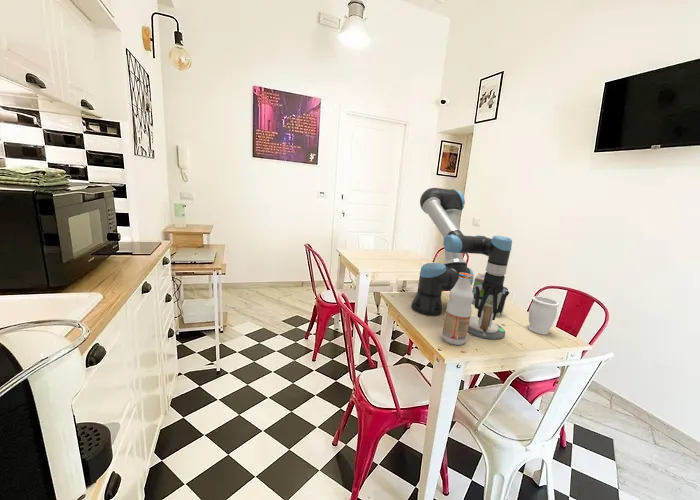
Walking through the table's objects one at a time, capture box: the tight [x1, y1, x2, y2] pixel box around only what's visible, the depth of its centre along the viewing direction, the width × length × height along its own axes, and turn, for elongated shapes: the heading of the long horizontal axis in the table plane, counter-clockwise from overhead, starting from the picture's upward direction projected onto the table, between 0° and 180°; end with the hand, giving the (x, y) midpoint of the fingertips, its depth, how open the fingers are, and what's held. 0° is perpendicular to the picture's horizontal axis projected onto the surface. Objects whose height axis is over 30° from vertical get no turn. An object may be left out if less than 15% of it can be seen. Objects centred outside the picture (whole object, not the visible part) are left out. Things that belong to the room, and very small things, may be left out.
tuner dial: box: [469, 305, 499, 333], centre depth 136 cm, size 16×14×11 cm
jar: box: [527, 295, 560, 336], centre depth 141 cm, size 11×10×15 cm
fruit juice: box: [441, 272, 474, 346], centre depth 122 cm, size 9×9×28 cm
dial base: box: [467, 322, 506, 341], centre depth 138 cm, size 20×20×1 cm
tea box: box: [472, 273, 485, 305], centre depth 173 cm, size 15×10×15 cm
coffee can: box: [483, 285, 509, 318], centre depth 158 cm, size 10×10×14 cm
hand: (484, 325), depth 132 cm, fingers closed on tuner dial, 3 cm apart
